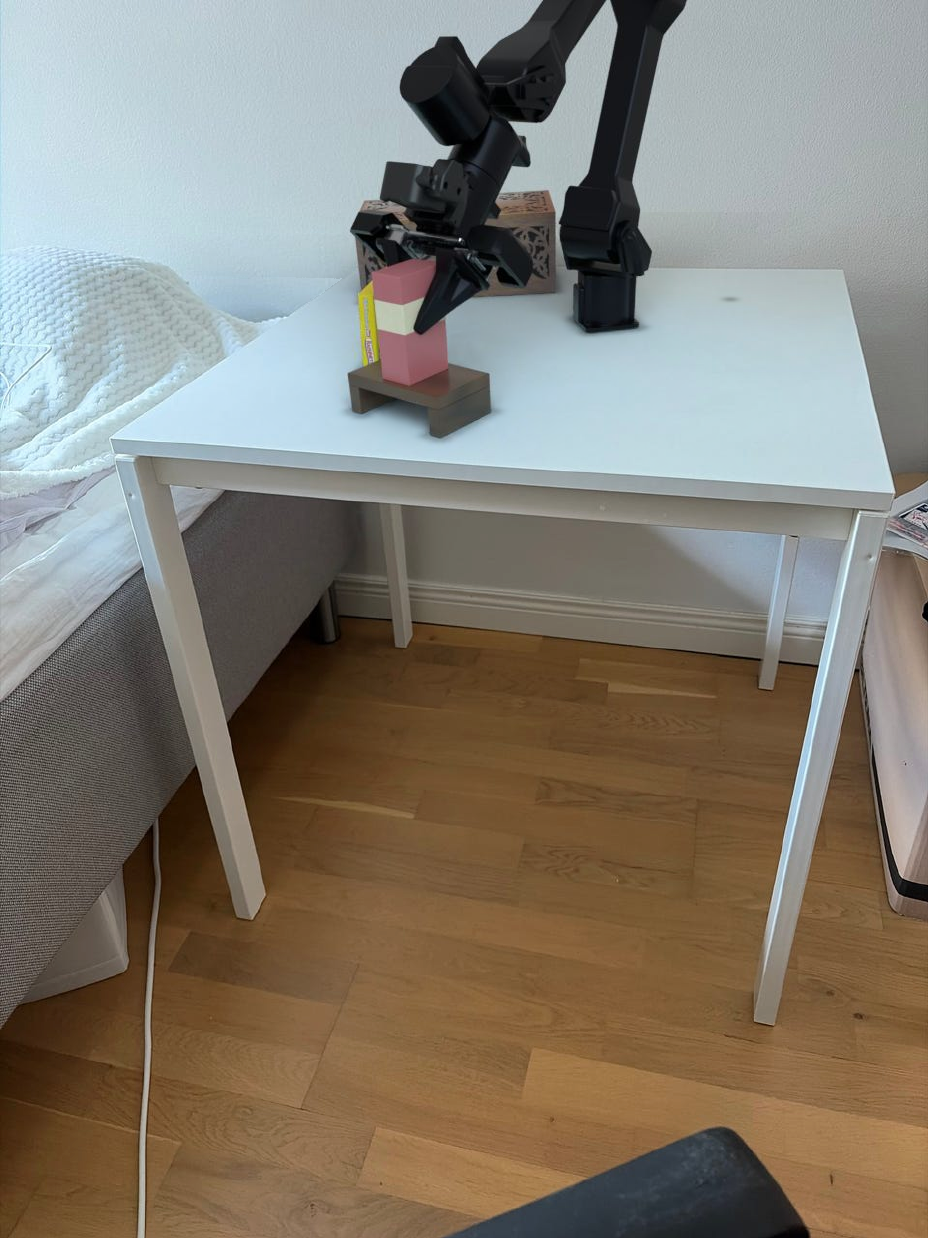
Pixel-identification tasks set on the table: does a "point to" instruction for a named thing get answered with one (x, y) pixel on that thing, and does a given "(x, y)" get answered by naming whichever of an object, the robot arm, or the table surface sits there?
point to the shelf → (427, 395)
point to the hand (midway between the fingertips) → (401, 328)
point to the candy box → (368, 325)
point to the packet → (407, 323)
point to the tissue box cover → (519, 212)
